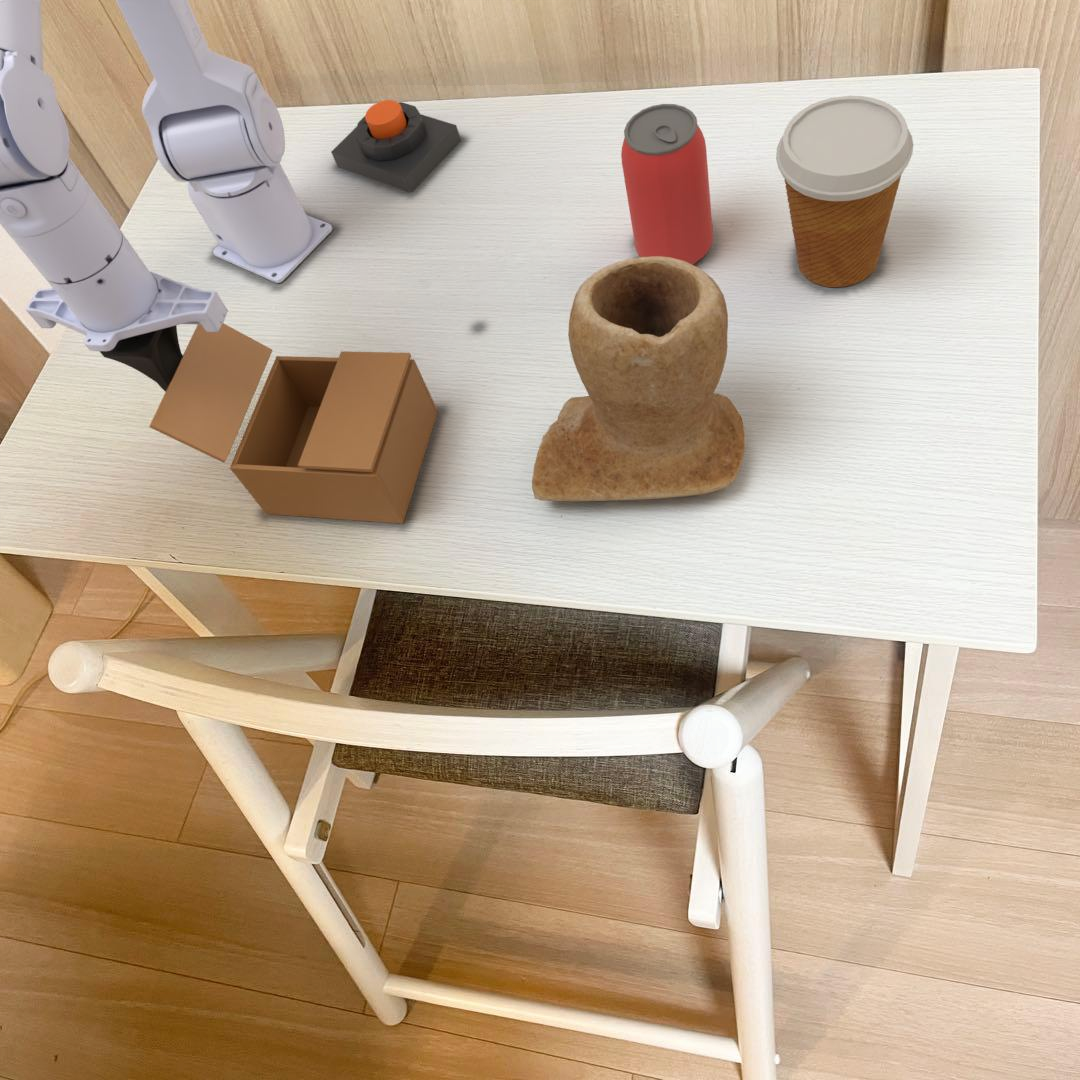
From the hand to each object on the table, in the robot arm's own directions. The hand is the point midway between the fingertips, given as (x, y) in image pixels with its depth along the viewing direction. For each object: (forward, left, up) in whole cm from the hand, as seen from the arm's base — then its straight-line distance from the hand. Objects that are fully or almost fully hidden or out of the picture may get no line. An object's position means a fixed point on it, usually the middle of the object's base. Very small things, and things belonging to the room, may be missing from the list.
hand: (183, 386), depth 78 cm
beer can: (+21, +35, -9) cm, 42 cm away
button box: (-11, +35, -9) cm, 38 cm away
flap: (+3, +1, 0) cm, 3 cm away
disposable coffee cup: (+34, +39, -9) cm, 53 cm away
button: (-11, +35, -6) cm, 38 cm away
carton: (+10, +4, -9) cm, 14 cm away
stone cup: (+30, +16, -9) cm, 35 cm away
